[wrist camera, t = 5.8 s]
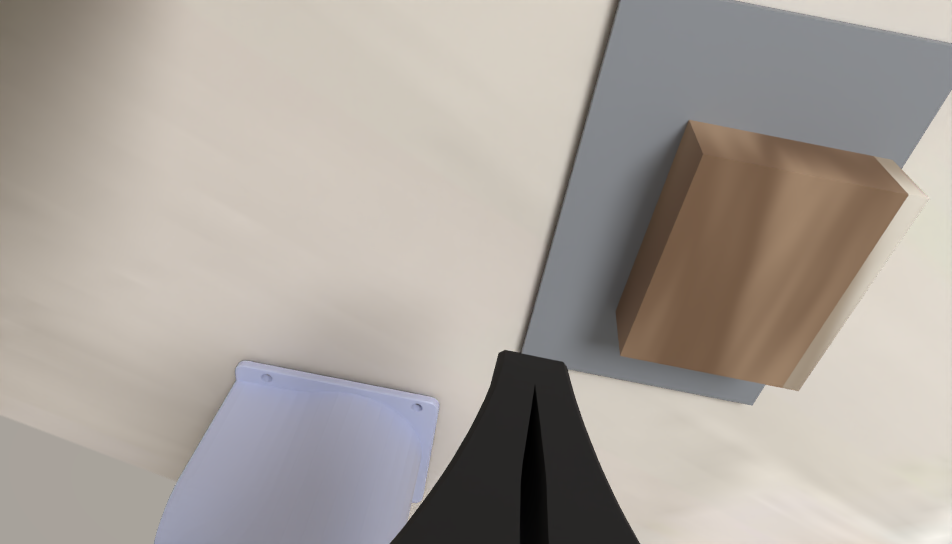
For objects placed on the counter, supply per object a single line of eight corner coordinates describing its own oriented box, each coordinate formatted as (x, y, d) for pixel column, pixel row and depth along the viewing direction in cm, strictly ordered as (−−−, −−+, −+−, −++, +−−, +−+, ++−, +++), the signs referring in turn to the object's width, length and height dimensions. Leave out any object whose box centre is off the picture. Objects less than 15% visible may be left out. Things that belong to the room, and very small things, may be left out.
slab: (620, 355, 22) (798, 390, 22) (703, 153, 18) (929, 198, 18) (615, 311, 24) (779, 343, 24) (688, 119, 20) (892, 159, 20)
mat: (520, 353, 27) (520, 359, 26) (624, -22, 18) (625, -19, 18) (749, 398, 27) (752, 405, 26) (968, 46, 18) (976, 50, 18)
